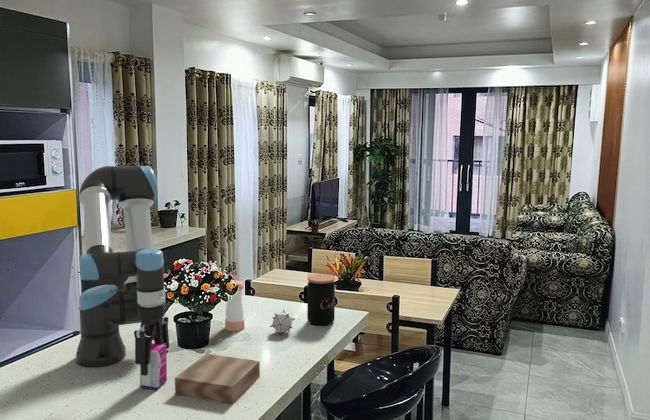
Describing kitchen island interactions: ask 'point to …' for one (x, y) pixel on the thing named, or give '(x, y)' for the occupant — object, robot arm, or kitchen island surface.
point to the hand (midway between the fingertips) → (153, 379)
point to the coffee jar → (321, 299)
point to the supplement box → (157, 366)
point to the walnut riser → (217, 378)
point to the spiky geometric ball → (282, 322)
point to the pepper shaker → (235, 311)
